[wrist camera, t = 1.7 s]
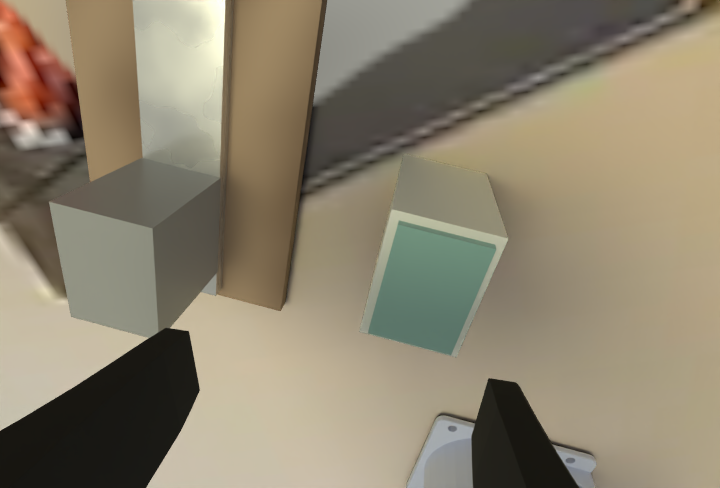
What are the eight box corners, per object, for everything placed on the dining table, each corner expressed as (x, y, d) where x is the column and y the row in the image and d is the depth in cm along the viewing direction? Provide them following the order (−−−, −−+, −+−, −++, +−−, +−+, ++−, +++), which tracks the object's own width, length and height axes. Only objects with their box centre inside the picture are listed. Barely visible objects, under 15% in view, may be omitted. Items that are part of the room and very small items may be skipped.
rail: (246, -322, 11) (236, -341, 11) (221, 288, 22) (215, 295, 21) (125, -347, 11) (108, -367, 11) (158, 271, 22) (150, 278, 21)
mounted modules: (235, -257, 11) (114, -426, 7) (217, 272, 20) (158, 340, 16) (112, -283, 12) (-80, -463, 7) (147, 253, 20) (71, 316, 16)
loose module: (486, 173, 18) (510, 243, 12) (450, 269, 20) (456, 363, 15) (403, 153, 18) (390, 213, 12) (378, 251, 20) (358, 337, 15)
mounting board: (369, -306, 12) (365, -327, 11) (285, 302, 23) (280, 311, 22) (36, -374, 12) (12, -398, 11) (111, 256, 23) (101, 263, 22)
